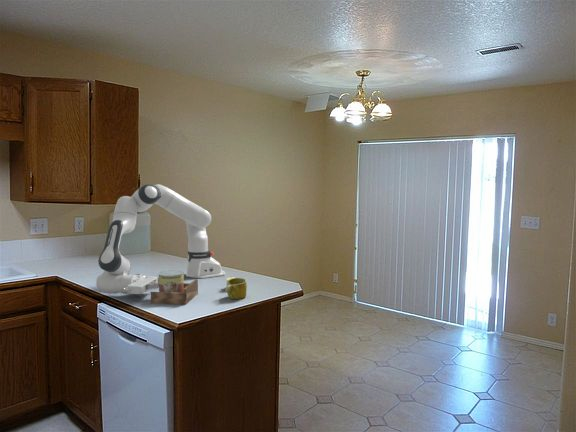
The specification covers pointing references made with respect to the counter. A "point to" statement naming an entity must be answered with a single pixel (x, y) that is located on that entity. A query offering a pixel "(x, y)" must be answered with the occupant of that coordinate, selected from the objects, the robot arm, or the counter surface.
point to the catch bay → (176, 295)
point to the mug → (236, 288)
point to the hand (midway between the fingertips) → (159, 285)
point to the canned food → (171, 281)
